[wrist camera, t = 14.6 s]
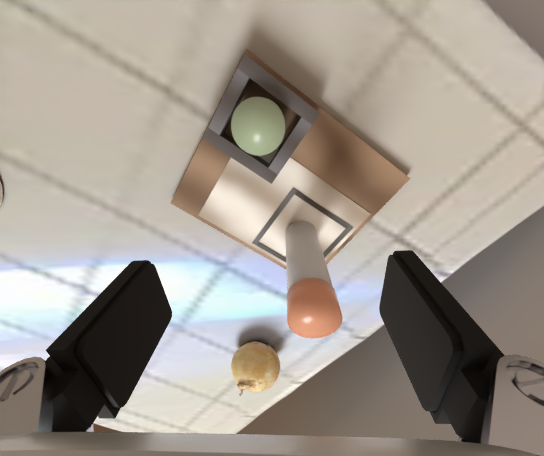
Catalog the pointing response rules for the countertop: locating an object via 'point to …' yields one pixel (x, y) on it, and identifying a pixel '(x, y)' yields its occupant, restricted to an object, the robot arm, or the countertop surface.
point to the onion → (255, 367)
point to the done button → (258, 126)
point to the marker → (309, 284)
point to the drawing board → (284, 172)
